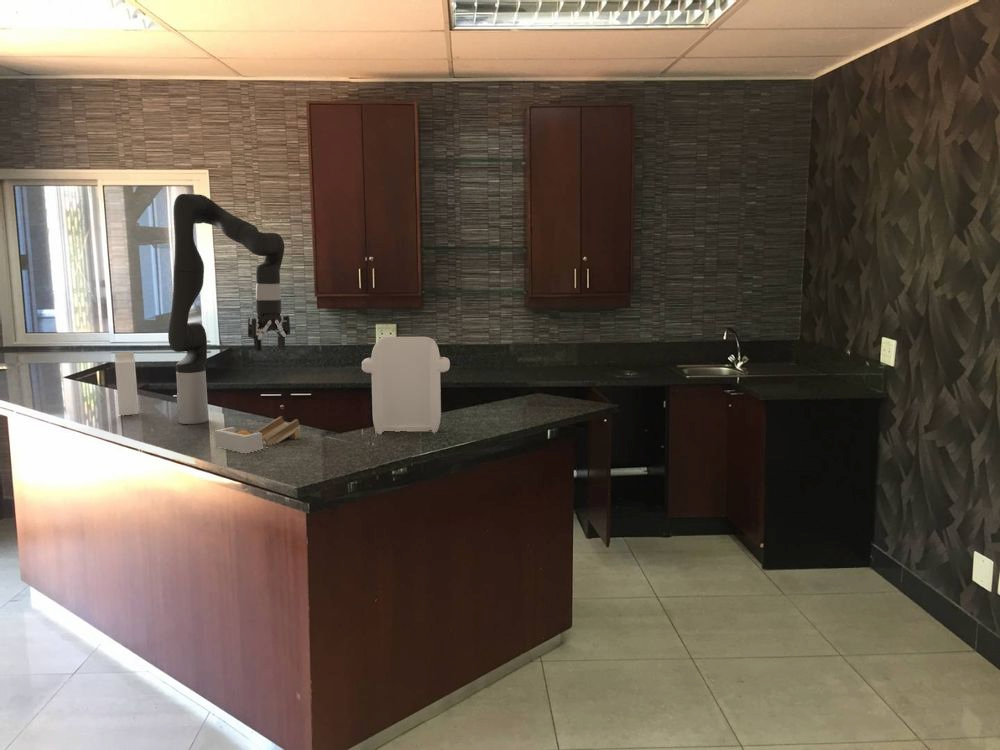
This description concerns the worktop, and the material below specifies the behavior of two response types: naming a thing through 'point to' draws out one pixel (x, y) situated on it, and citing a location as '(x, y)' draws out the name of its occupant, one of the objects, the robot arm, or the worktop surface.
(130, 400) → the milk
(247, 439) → the backstop
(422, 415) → the toaster
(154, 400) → the worktop surface
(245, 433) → the ball
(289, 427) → the ramp
